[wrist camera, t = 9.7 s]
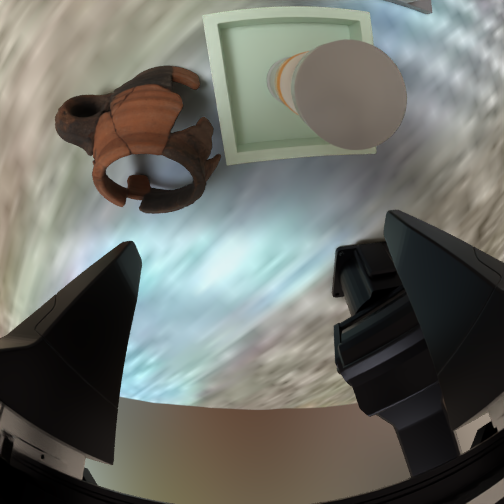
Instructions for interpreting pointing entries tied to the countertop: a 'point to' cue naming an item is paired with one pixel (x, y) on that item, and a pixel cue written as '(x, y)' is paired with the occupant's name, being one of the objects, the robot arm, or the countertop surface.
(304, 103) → the banded fuse
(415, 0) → the block
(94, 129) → the pottery mug
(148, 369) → the countertop surface
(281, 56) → the tray
